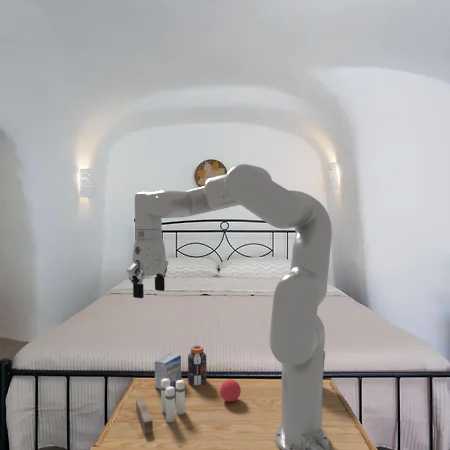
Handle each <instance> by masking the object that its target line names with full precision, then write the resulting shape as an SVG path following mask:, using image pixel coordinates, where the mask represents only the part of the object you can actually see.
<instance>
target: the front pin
mask: <svg viewBox="0 0 450 450" xmlns="http://www.w3.org/2000/svg"><path fill="white" fill-rule="evenodd" d="M185 386H186V385H185V380H184V379H181V380H178V381H176V385H175V414H176V415H184V414H185V413H186V392H185V391H186V387H185Z"/></svg>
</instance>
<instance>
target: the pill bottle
mask: <svg viewBox="0 0 450 450" xmlns="http://www.w3.org/2000/svg"><path fill="white" fill-rule="evenodd" d="M187 382H188V384H189V385H192V386H202V385H204V384H205V383H206V382H207V354H206V353H205V352H204V346H202V345H193V346H191V347H190V352H189V354H188V356H187Z"/></svg>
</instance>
